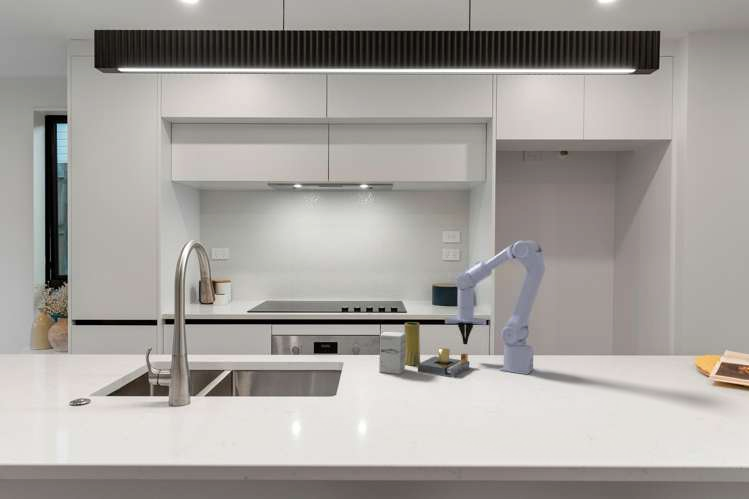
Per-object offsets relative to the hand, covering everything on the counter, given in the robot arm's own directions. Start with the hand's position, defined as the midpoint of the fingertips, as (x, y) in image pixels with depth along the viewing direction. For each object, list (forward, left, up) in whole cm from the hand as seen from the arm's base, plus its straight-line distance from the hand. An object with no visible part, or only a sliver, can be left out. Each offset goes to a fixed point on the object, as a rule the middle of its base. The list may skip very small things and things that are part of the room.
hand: (465, 343), depth 185 cm
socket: (+1, +15, -6) cm, 17 cm away
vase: (+14, +14, -6) cm, 21 cm away
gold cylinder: (+1, +15, -6) cm, 17 cm away
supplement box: (+15, +26, -6) cm, 31 cm away
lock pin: (-3, +14, -5) cm, 15 cm away
